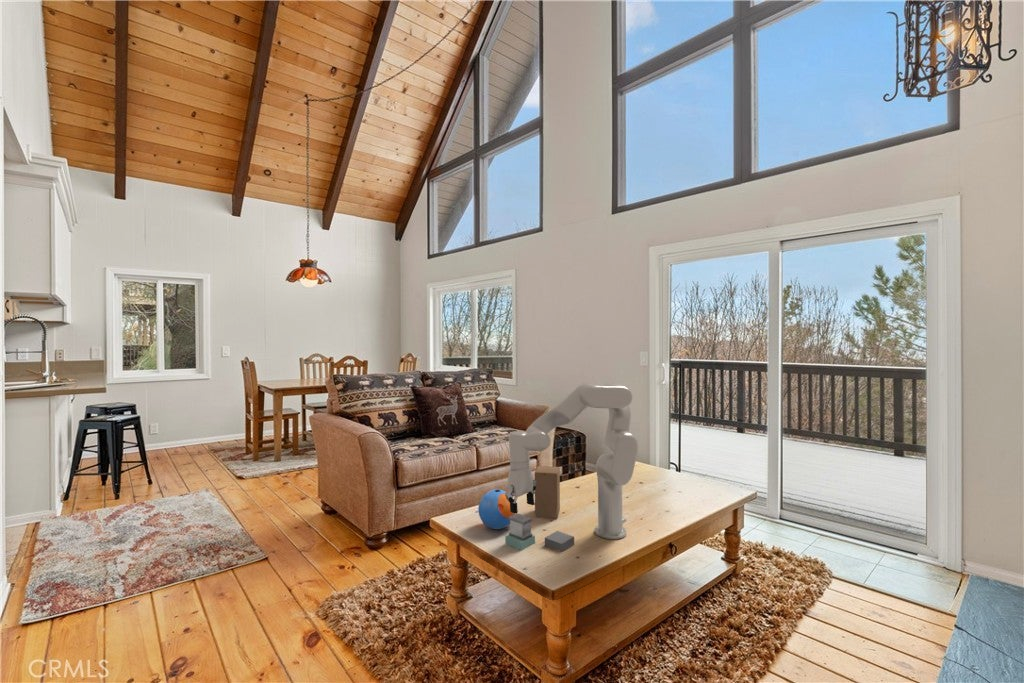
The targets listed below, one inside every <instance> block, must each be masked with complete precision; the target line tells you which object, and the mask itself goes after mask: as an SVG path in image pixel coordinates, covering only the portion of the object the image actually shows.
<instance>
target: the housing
mask: <svg viewBox="0 0 1024 683" xmlns="http://www.w3.org/2000/svg"><path fill="white" fill-rule="evenodd" d="M509 520H510V524H509V525H510V530H509V532H508V535H510V536H512V537H515V538H517V539H520V540H523V541H525V540H527V539H529V538H531V537H532V535H533V533H532V532H531V531H532V530H531V528H532V526H531V525H532V524H531V523H532V522H533V518H532V517H529V516H526V515H523V514H521V513H517V514H515V515H512V516H510V517H509Z"/></svg>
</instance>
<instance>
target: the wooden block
mask: <svg viewBox="0 0 1024 683" xmlns="http://www.w3.org/2000/svg"><path fill="white" fill-rule="evenodd" d="M560 470H561V468H560V467H559V466H549V465H548V466H546V465H545V466H544V465H538V466H537V467H536V470H535V472H534V480H535V481H537V483H536V489H535V491H534V492H535V494H534V517H535V518H541V519H543V518H544V519H555V520H557V519H558V517H559V514H560V512H561V502H560V501H561V495H560V494H561V492H560V491H561V489H560V488H561V484H560V483H561V479H560V477H561V475H560V473H561V471H560Z"/></svg>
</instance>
